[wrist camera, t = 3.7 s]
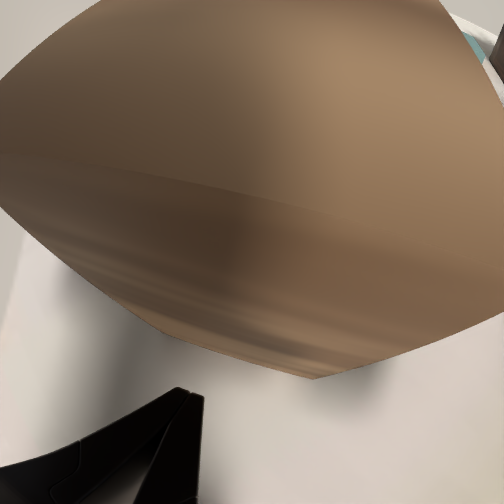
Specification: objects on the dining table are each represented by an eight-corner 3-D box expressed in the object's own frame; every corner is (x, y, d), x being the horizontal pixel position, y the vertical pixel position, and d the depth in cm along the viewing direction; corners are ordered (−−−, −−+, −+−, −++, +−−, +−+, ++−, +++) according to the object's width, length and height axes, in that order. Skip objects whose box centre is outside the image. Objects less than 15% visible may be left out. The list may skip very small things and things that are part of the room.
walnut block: (312, 379, 14) (549, 286, 2) (162, 332, 16) (-56, 147, 3) (354, 186, 19) (417, -25, 6) (235, 159, 20) (212, -52, 8)
